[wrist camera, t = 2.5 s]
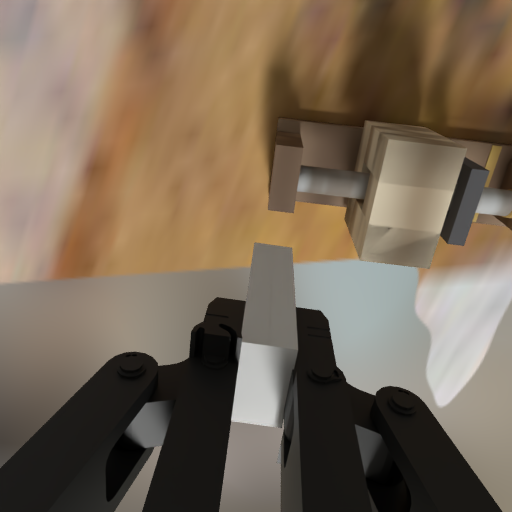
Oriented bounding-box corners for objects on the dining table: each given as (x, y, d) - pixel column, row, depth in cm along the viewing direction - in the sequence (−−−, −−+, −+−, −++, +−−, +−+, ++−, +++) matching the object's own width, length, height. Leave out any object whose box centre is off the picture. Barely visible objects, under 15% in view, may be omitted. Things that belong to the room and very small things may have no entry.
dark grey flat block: (424, 217, 37) (447, 243, 32) (444, 151, 34) (472, 168, 29) (438, 219, 37) (463, 245, 32) (459, 153, 34) (489, 170, 29)
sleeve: (344, 218, 39) (360, 260, 31) (365, 119, 35) (388, 139, 27) (399, 225, 39) (429, 268, 31) (426, 127, 35) (467, 148, 27)
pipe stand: (269, 195, 40) (266, 222, 33) (278, 117, 37) (277, 130, 30) (504, 223, 40) (547, 256, 33) (533, 147, 37) (586, 167, 30)
